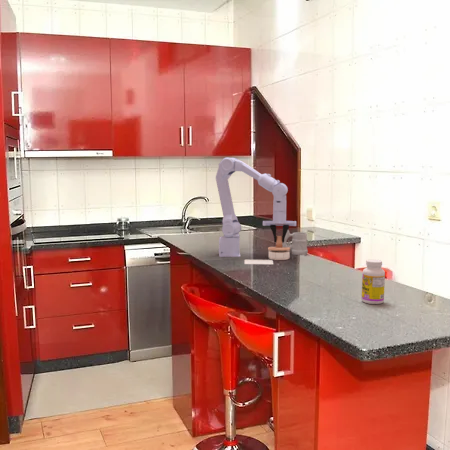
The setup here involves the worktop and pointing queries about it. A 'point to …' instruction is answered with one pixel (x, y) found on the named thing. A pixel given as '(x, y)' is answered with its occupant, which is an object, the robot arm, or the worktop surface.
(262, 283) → the worktop surface
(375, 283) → the supplement bottle
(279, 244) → the lid
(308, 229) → the worktop surface
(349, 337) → the worktop surface
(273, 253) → the bowl
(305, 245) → the mug
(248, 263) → the mat
